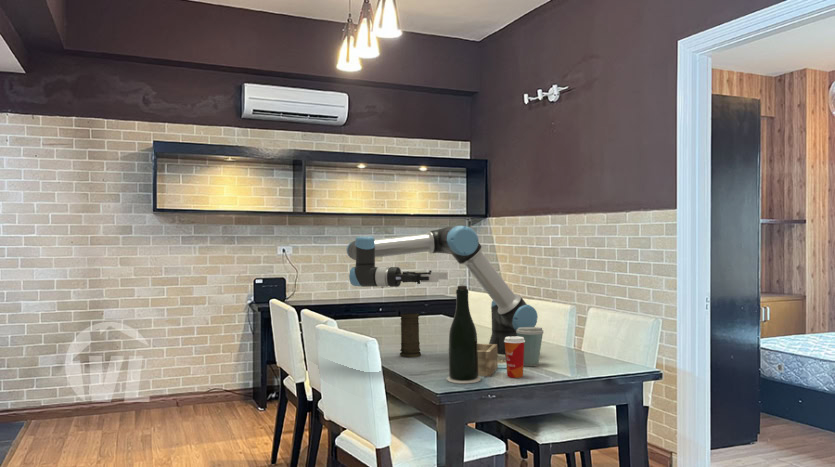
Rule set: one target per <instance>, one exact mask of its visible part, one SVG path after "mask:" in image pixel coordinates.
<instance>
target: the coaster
mask: <svg viewBox="0 0 835 467" xmlns="http://www.w3.org/2000/svg"><path fill="white" fill-rule="evenodd" d="M481 380H482V376H478V377H477V378H476V379H474V380H465V381H464V380H454V379H451V378H450V377H449V376H447V378H446V381H448V382H449V383H452V384H453V383H454V384H459V385H462V384H464V385H466V384H474V383H475V384H476V383H479V382H481Z"/></svg>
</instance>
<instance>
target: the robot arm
mask: <svg viewBox="0 0 835 467" xmlns="http://www.w3.org/2000/svg"><path fill="white" fill-rule="evenodd" d="M426 252H428V253H429V254H446V255H452V257H453V258H454V259H455V260H456V261H457V263H458V264H459V265H463V266H465V267H466V268H467V270H468V271H469V273H470V274H471V275H472V276H473V277H474V278H475V279H476V281H477V283H478V284H480V286H481V287H482V288H483V290H484V291H485V292H486V293H487V295H488V296H489V297H490V298H491V299H492V301H491V307H490V309H491V312H490V313H491V336H490V339H489V342H488V344H497V353H498V354H499V355H506V353H505V342H504V340H505V337H511V336H514V337H515V336H517V332H516V330H517V329H518V328H520V327H536V325H537V323H538V312H537V310H536V308H534V307H533V306H532V305H531V304H527V302H526V301H525V300H524V299H523V297H522V296H521V295H520V294H515V293H514V292H513V291H512V289H511V288H510V286H508V284H507V283H506V282H505V280H504V279H503V278H502V276H501V275H500V274H499V273H498V271H497V270H496V269H495V267H494V266H493V265H492V263H491V262H490V261H489V260H488V259H487V257H486V256H485V254H484V253H483V252H482V245H481V244H480V242H479V236H478V234H477V233H476V231H475V230H474V229H472V228H471V227H469V226H465V225H456V226H455V225H454V226H446V227H442V228H439V229H433V230H428V231H426V233H421V234H418V233H417V234H411V235H402V236H401V235H400V236H393V237H391V236H390V237H384V238H383V237H382V238H375V237H374V236H357V237H355V240H353V241H351V242H349V244H348V245H347V246H346V254H347V256H348V257H349V258H351V259H352V260H353V261H354V260H355V266H352V267H351V268H350V270H349V274H348V276H349V282H350V284H351V285H352V286H353V287H363V288H364V287H367V288H369V287H372V288H373V287H375V288H376V287H377V288H379V287H380V288H381V289H384V287H388V288H389V287H390V288H391V287H393V288H399V287H400V286H401V283H417V285H420V284H421V283H439V281H440V280H448V277H449V276H448V275H449V274H448V272H447V271H444V272H443V271H438V272H437V271H432V270H429V271H427V272H426V271H425V272H424V271H423V272H421V271H419V272H415V271H402V270H401V268H400V267H398V266H390V267H389V266H377V267H376V258H383V257H391V256H400V255H408V254H417V253H418V254H419V253H426Z"/></svg>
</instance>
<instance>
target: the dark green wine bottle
mask: <svg viewBox="0 0 835 467" xmlns="http://www.w3.org/2000/svg"><path fill="white" fill-rule="evenodd" d="M455 290H456V291H455V295H456V301H455V303H456V305H455V313H454V316H453V319H452V322H451V325H450V328H449V332H448V377H450V378H451V379H454V380H464V381H465V380H474V379H476V378H477V377H478V346H477V344H478V334H477V330H476V326H475V323H474V320H473V318H472V314H471V312H470V311H471V310H470V304H469V303H470V302H469V289H468V286H467V285H464V284H463V285H457V289H455Z"/></svg>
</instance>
